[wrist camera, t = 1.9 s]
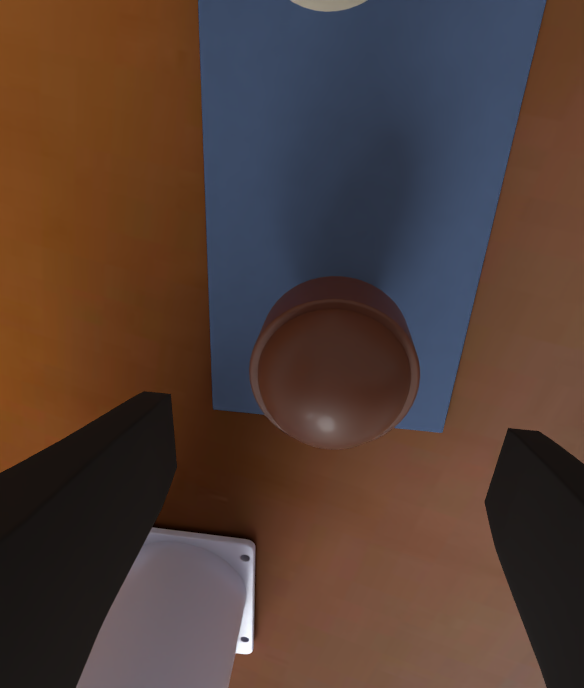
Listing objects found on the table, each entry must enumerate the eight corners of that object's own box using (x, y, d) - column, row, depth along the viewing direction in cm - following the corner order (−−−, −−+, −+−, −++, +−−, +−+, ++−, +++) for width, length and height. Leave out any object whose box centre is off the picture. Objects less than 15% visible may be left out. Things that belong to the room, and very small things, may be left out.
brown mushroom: (389, 374, 18) (413, 499, 12) (272, 363, 18) (236, 478, 12) (409, 257, 16) (450, 334, 10) (275, 247, 16) (234, 316, 10)
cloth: (440, 427, 19) (442, 433, 19) (215, 404, 20) (212, 409, 19) (604, -264, 10) (614, -278, 10) (192, -257, 11) (187, -270, 11)
